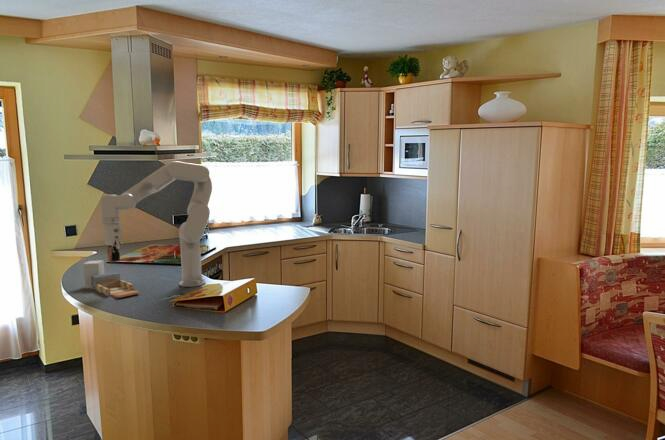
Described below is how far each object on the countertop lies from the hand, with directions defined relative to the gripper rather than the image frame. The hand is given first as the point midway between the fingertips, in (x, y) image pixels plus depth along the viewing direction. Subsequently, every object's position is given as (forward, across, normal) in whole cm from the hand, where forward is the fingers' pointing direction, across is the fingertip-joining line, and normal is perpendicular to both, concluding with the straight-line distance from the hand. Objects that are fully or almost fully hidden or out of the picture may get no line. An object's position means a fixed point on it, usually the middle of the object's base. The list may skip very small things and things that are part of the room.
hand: (113, 259), depth 235 cm
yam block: (+1, 0, 0) cm, 1 cm away
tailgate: (+15, -6, 0) cm, 17 cm away
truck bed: (+16, +5, 0) cm, 17 cm away
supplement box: (+17, +21, +2) cm, 27 cm away
